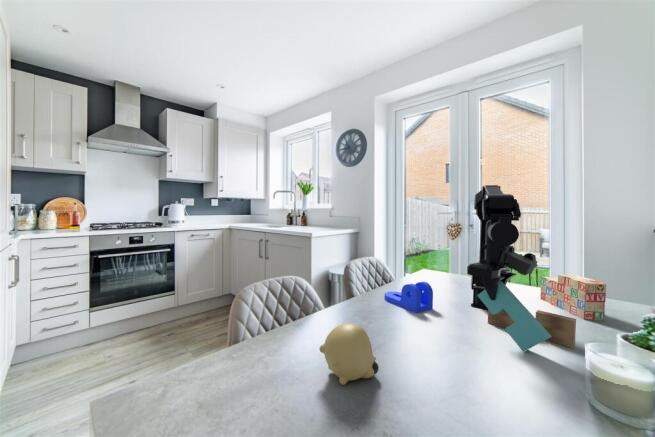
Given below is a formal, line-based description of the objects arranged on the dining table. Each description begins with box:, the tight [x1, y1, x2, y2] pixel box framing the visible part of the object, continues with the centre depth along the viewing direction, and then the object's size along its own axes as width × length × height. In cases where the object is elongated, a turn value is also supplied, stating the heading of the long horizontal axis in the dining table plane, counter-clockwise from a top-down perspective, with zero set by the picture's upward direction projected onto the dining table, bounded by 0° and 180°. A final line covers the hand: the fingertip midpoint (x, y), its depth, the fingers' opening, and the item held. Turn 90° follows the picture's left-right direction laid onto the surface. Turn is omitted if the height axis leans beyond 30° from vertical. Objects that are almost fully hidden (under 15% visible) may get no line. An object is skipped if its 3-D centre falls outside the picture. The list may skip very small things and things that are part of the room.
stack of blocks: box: [540, 273, 607, 322], centre depth 100 cm, size 21×6×12 cm, turn 175°
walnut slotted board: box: [487, 309, 577, 349], centre depth 79 cm, size 20×2×7 cm, turn 40°
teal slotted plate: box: [477, 281, 552, 353], centre depth 72 cm, size 16×2×7 cm
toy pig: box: [318, 323, 380, 386], centre depth 57 cm, size 10×12×11 cm
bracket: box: [384, 281, 434, 314], centre depth 103 cm, size 18×8×9 cm, turn 31°
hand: (495, 299), depth 75 cm, fingers closed on teal slotted plate, 2 cm apart
